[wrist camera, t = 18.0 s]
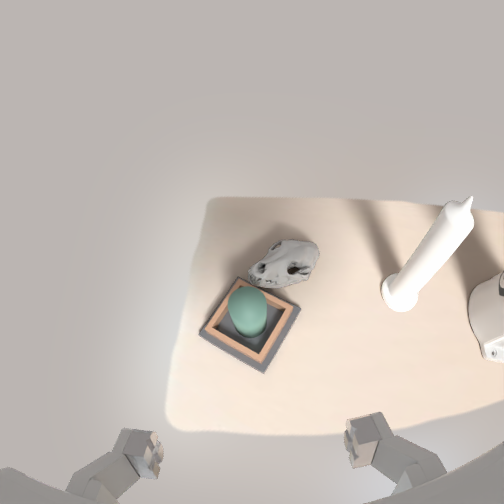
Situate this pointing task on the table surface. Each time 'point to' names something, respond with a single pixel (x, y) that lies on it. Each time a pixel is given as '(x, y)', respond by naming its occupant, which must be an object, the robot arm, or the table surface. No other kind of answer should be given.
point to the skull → (284, 264)
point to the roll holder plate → (251, 349)
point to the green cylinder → (248, 311)
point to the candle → (429, 255)
